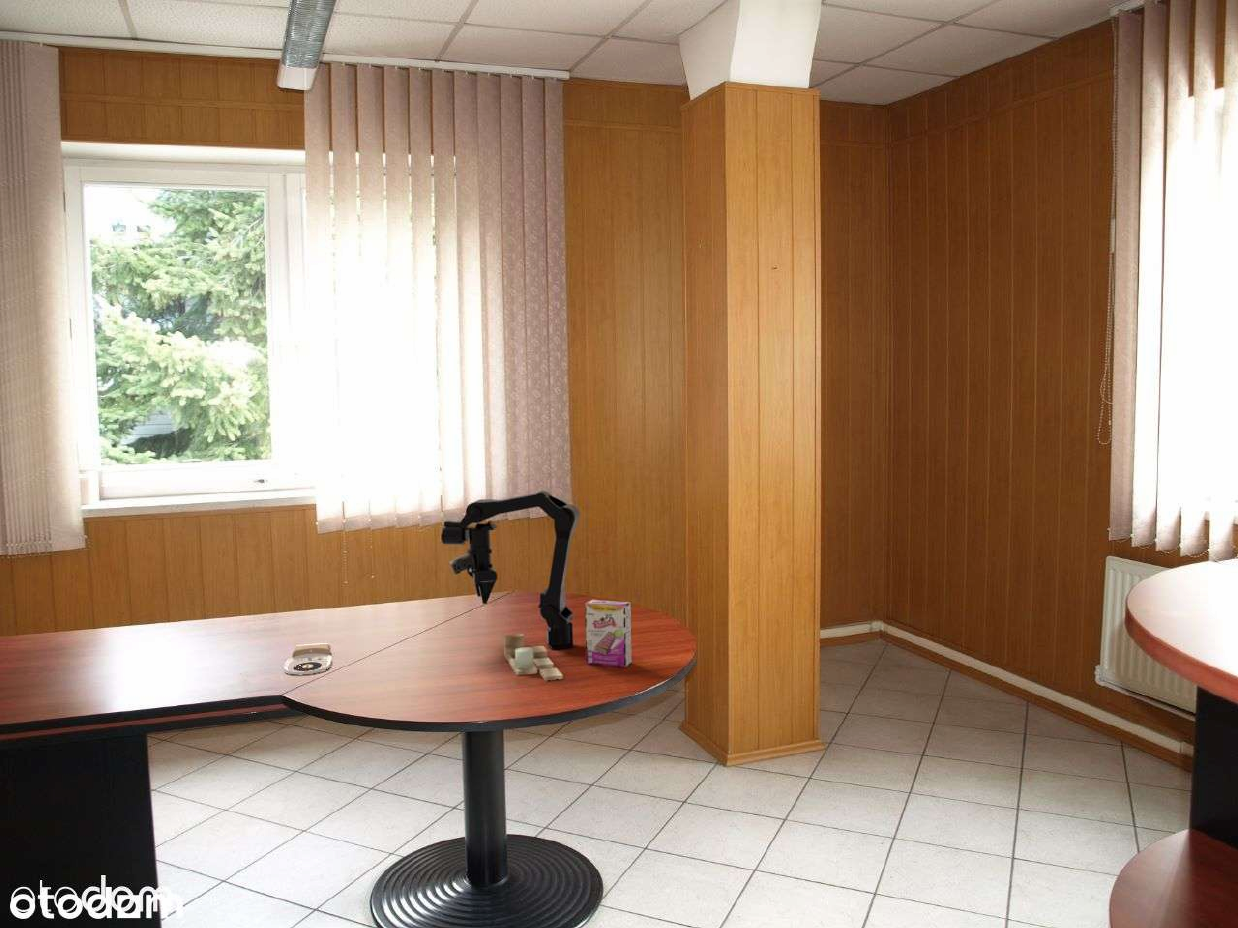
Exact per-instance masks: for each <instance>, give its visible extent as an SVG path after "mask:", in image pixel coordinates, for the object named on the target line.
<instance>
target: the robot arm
mask: <svg viewBox="0 0 1238 928" xmlns="http://www.w3.org/2000/svg"><path fill="white" fill-rule="evenodd" d="M533 508H539V509H541V510H542V511H543V512H544V513H545V514H546V515H547V516H548V517H549V518H551V519H553V520H554V521H553V522H554V523H553V524H554V525H553V526H554V533H555V544H554V548H553V549H554V551H553V555H552V556H553V557H552V563H551V569H550V574H549V575H550V576H549V582H548V583H549V584H548V588H545V589H544V590H543V591H542V592H541V593H540V594H539V595H540V596H539V604H538V607H537V609H539V614H540V615H541V617H542V618H543V619H544V620H545V622H546V624H547V627H548V628H546V629H545V630H546V631H545V632H546V644H547V645H548V646H549V648H551V650H560V649H569V648H575V644H574V635H573V634H574V633H573V632H574V631H573V630H574V629H573V627H574V626H573V623H572V620H573V617H574V612H573V611H572V610H571V609H570V608H569V607H568V606H567V605H566V592H565V580H566V576H567V575H566V574H567V567H568V562H569V561H568V560H569V555H570V549H571V548H570V547H571V543H572V538H573V535H574V533H575V531H576V529H577V526H578V523H579V520H580V516H581V513H580V510H579V509H578V507H577V506H575V505H574V504H570V503H566V502H565V501H563V500H561V499H560V498H557V497H555V496H553V495H552V494H550V493H549V492H548V491H545V490H540V491H538V492H534V493H528V494H524V495H518V496H513V497H509V498H504V499H503V498H502V499H491V498H489V499H488V498H486V499H485V498H484V499H478V500H476V501H473V502H471V503H470V504H468V505H467V506H466V510H465V515H464V517H463V518H462V519H461V521H460V520H459V521H456V520H454V521H453V520H445V521H444V522H443V527H442V531H441V534H440V535H441V536H440V537H441V542H442V544H443V545H444V546H465V545H466V543H467V542H469V547H468V549H467V553H466V554H463V555H460V556H459V557H456V558H455V559H452V560H450V561H449V564H450V567H451V570H452V572H453V574H454V575H458V574H461V572H464V571H466V573H467V574H468V575H469V576H470V577H471V578H472V581H473V583H474V587H475V592H476V596H477V597H478V598H480V599H481V603H482V604H483V605H487V604H488V601H489V599H490V596H491V593H492V591H493V589H494V586H495V583H497V581H498V572H497V571H496V570H495V569H493V562H492V556H491V554H493V553H492V552H493V549H492V548H491V533H490V532H491V531H493V530H495V529H497V528H498V526H497V525H496V524H495V523H494V522H493V521H492V520H488V519H492V518H494V517H496V516H498V515H501V514H507V513H513V512H517V511H522V510H526V509H527V510H528V509H533ZM486 520H488V521H487V522H486V523H485V522H484V523H483V521H486ZM472 524H475V525H472ZM471 525H472V526H471Z"/></svg>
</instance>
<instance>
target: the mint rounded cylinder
mask: <svg viewBox="0 0 1238 928" xmlns="http://www.w3.org/2000/svg"><path fill="white" fill-rule="evenodd" d="M529 647H530V646H528V647H526V646H524V647H522V648H517V649H515V657H514V658H515V664H516V668H517V669H521V670H525V669H531V668H533V667H534V665H533V649H532V648H529Z"/></svg>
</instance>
